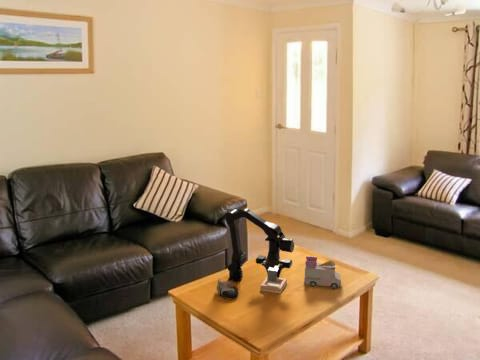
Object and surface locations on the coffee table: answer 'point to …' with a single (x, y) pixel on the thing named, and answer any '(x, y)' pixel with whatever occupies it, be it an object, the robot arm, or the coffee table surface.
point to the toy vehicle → (321, 273)
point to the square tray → (273, 285)
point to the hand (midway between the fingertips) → (273, 276)
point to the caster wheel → (227, 289)
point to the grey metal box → (273, 274)
